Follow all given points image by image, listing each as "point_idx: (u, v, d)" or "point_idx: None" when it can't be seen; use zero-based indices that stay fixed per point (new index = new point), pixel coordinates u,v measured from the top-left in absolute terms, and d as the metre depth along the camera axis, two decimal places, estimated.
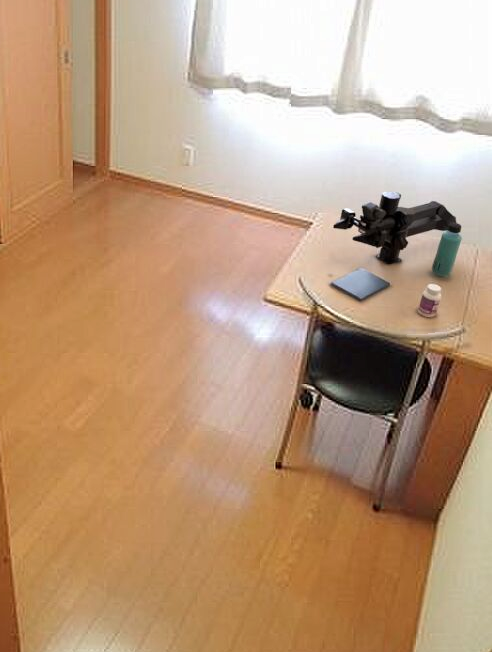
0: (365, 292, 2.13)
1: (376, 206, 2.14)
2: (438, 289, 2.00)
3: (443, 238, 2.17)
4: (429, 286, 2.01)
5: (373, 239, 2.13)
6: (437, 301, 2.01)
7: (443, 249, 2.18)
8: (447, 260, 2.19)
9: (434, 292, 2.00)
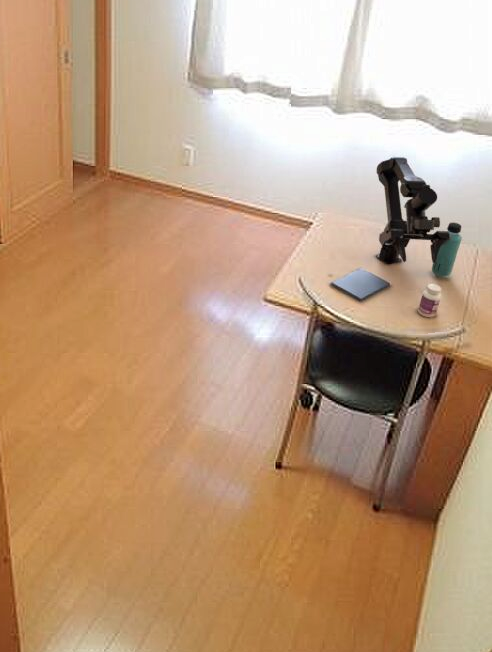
0: (365, 292, 2.13)
1: (433, 221, 2.02)
2: (438, 289, 2.00)
3: None
4: (429, 286, 2.01)
5: (440, 244, 2.08)
6: (437, 301, 2.01)
7: (443, 249, 2.18)
8: (447, 260, 2.19)
9: (434, 292, 2.00)
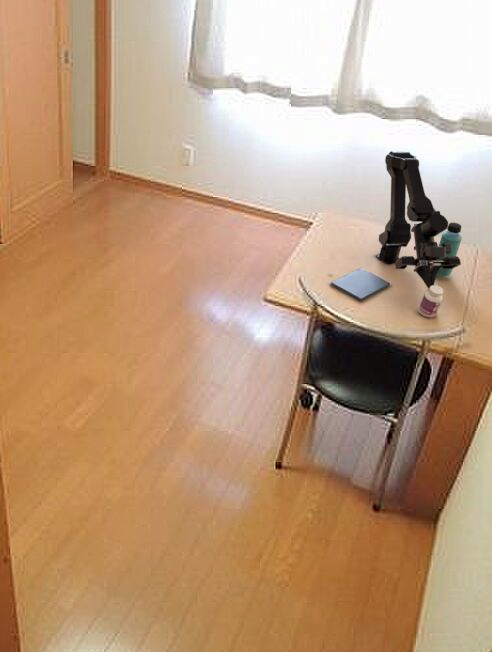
0: (365, 292, 2.13)
1: (445, 248, 1.98)
2: (440, 291, 1.99)
3: (443, 238, 2.17)
4: (431, 288, 2.00)
5: None
6: (438, 303, 2.00)
7: None
8: None
9: (436, 294, 1.98)
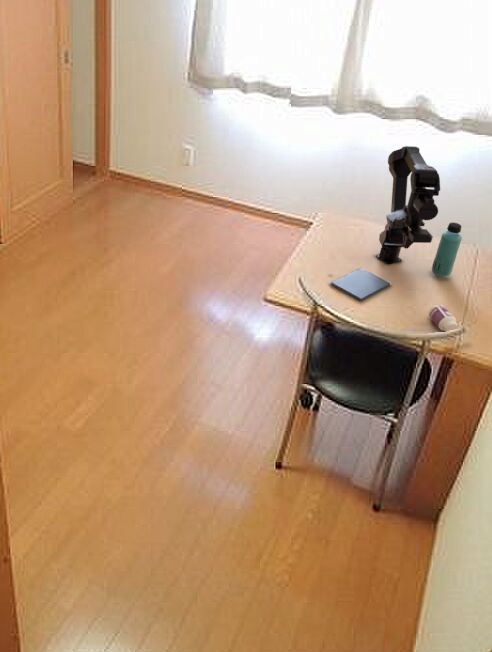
0: (365, 292, 2.13)
1: (390, 221, 2.09)
2: None
3: (443, 238, 2.17)
4: (450, 326, 1.94)
5: None
6: None
7: (443, 249, 2.18)
8: (447, 260, 2.19)
9: None
